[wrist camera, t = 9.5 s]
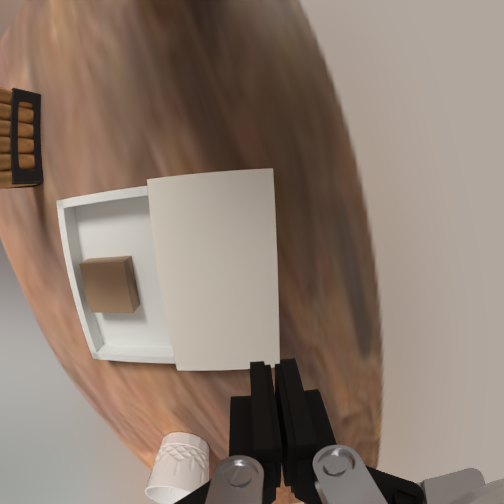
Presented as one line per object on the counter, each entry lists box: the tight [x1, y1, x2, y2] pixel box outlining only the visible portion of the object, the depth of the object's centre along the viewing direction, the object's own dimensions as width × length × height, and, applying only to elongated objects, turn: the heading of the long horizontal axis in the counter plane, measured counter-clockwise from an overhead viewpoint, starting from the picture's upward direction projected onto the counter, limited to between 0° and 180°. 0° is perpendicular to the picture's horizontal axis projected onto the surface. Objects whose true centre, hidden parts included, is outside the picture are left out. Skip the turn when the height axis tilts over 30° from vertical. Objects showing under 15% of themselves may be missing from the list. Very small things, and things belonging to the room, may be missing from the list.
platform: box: [147, 168, 280, 371], centre depth 25 cm, size 18×10×3 cm, turn 3°
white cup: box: [145, 432, 209, 504], centre depth 28 cm, size 8×8×10 cm
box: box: [57, 186, 175, 364], centre depth 25 cm, size 17×10×2 cm, turn 3°
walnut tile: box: [79, 256, 140, 313], centre depth 25 cm, size 5×5×2 cm
